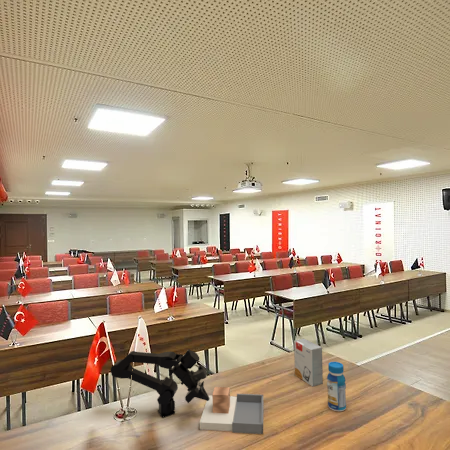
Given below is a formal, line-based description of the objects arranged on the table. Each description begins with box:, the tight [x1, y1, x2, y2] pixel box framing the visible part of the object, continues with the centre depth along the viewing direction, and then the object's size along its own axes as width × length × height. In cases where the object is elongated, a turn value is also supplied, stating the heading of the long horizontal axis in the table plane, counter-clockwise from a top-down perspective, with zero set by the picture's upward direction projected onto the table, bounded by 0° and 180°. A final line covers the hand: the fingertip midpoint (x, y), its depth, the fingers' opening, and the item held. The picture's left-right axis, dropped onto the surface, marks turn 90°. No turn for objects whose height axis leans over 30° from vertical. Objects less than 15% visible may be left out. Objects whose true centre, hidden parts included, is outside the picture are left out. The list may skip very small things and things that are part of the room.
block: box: [212, 386, 231, 413], centre depth 147 cm, size 7×7×8 cm
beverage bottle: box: [326, 361, 347, 412], centre depth 151 cm, size 8×8×20 cm
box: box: [231, 393, 265, 435], centre depth 146 cm, size 13×24×4 cm, turn 173°
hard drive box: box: [293, 338, 324, 387], centre depth 179 cm, size 16×8×20 cm, turn 25°
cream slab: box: [199, 394, 237, 432], centre depth 147 cm, size 14×22×3 cm, turn 173°
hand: (208, 399), depth 148 cm, fingers closed
